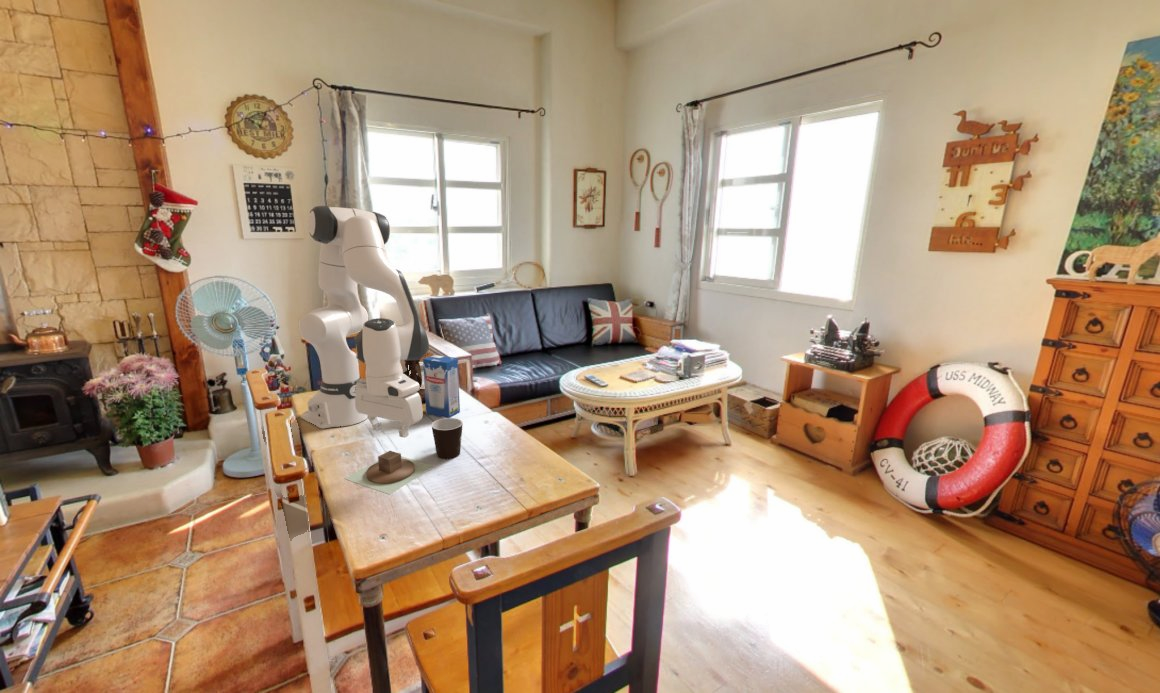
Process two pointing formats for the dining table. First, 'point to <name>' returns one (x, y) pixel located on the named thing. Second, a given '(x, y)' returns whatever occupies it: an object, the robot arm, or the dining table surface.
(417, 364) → the dark brown tall piece
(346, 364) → the robot arm
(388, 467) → the lid
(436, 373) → the milk carton
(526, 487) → the dining table surface
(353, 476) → the mat
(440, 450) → the coffee mug
